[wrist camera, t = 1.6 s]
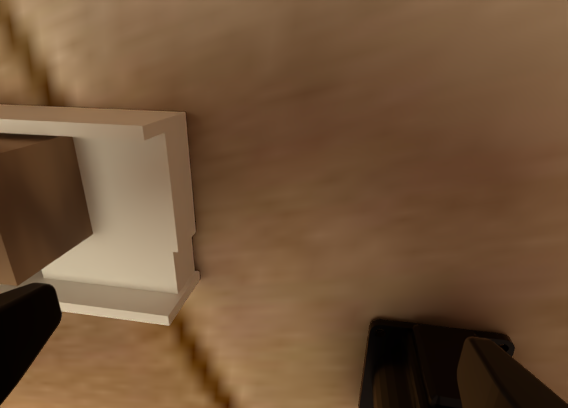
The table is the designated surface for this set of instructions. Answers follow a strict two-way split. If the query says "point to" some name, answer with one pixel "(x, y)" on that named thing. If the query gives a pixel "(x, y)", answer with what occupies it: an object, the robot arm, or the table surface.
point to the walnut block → (38, 203)
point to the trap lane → (122, 211)
